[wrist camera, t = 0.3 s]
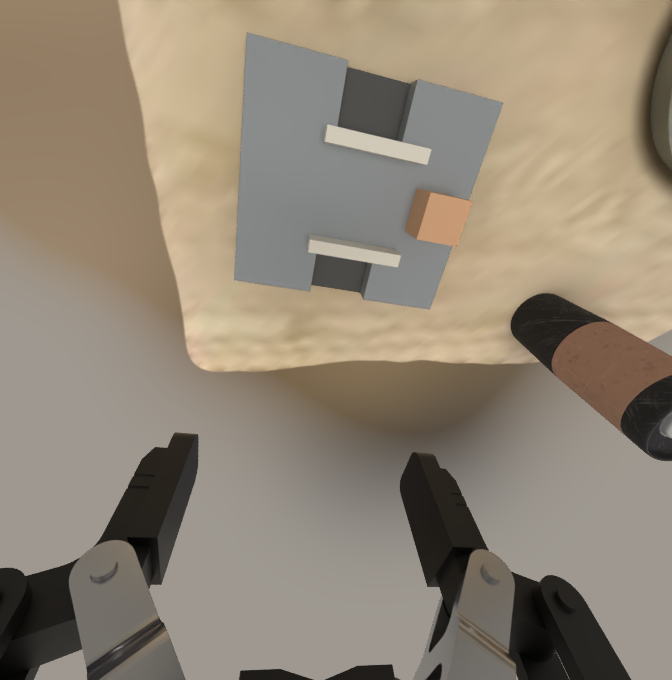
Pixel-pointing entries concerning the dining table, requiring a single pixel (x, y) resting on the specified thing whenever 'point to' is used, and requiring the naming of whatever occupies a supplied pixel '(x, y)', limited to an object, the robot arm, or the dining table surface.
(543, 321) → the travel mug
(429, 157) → the tunnel deck
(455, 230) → the block
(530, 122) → the dining table surface
